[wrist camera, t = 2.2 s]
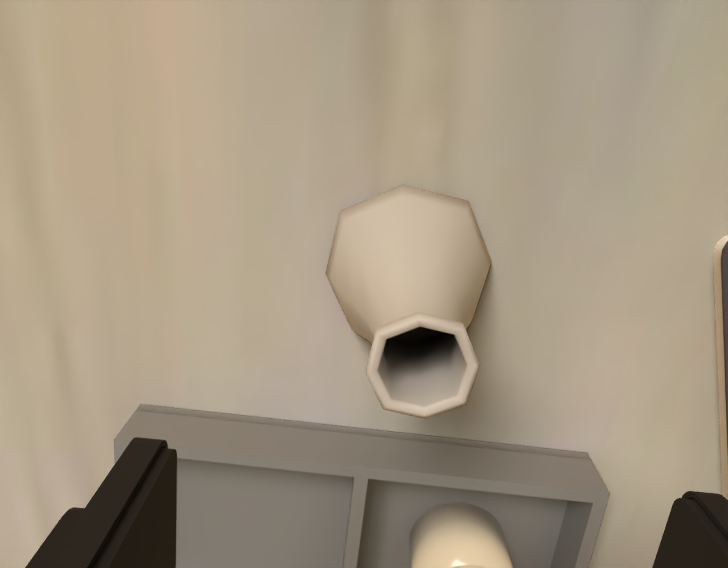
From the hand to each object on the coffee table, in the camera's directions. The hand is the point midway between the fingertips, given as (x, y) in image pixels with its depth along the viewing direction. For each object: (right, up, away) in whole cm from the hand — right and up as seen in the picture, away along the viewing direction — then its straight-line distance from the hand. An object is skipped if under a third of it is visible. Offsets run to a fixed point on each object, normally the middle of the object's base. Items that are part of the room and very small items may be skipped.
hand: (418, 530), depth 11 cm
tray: (-2, -8, +19) cm, 21 cm away
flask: (+1, +5, +15) cm, 16 cm away
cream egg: (+4, -8, +19) cm, 21 cm away
